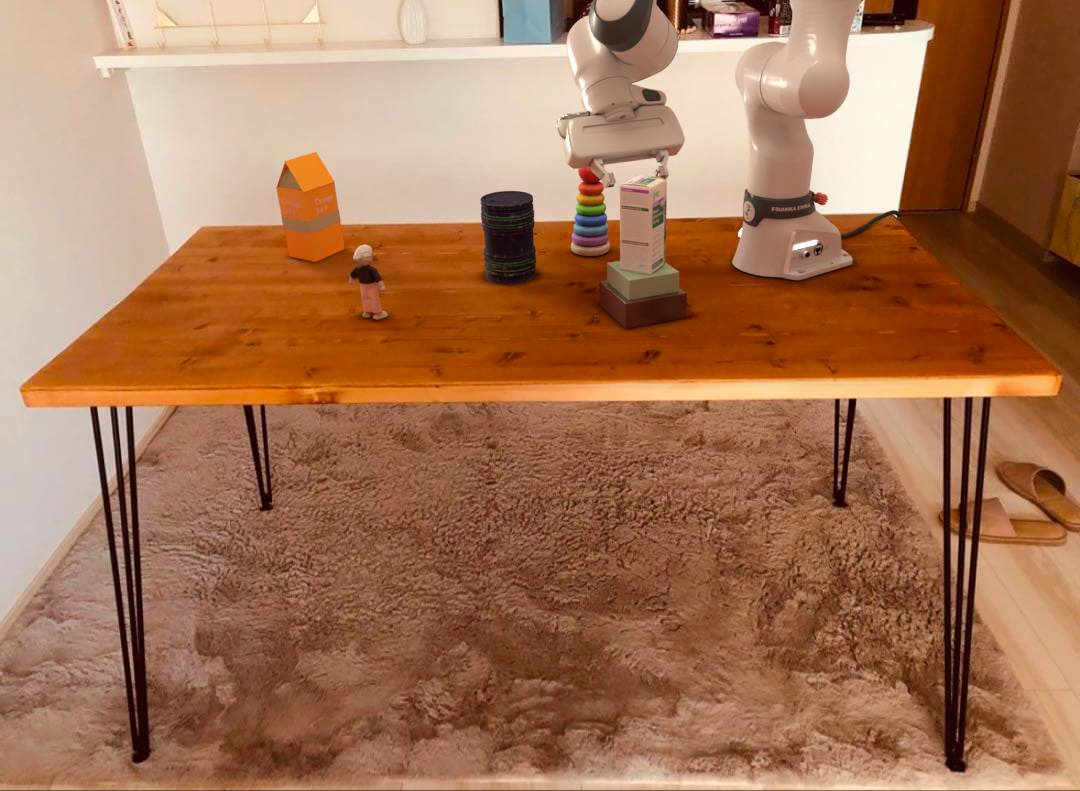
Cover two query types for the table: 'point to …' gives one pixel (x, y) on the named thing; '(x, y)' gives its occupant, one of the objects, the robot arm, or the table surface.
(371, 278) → the grandmother figurine
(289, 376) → the table surface
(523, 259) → the dark blue cylinder
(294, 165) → the orange juice
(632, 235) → the syrup box
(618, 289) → the top block
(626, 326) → the base block
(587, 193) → the stacking toy
